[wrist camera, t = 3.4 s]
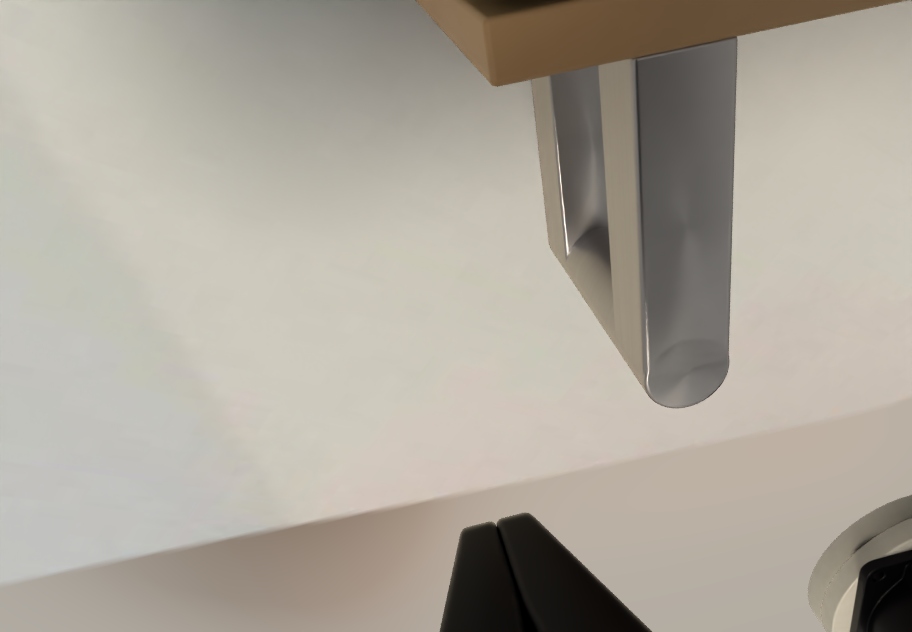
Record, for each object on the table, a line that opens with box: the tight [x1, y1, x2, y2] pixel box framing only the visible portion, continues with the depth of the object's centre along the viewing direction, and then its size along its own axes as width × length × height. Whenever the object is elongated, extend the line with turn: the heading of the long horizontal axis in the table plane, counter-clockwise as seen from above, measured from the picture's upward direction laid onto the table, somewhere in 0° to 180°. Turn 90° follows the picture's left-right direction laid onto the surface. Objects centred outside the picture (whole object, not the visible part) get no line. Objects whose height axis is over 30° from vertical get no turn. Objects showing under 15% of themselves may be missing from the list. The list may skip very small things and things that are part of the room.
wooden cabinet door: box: [416, 0, 907, 408], centre depth 15 cm, size 6×17×9 cm, turn 99°
